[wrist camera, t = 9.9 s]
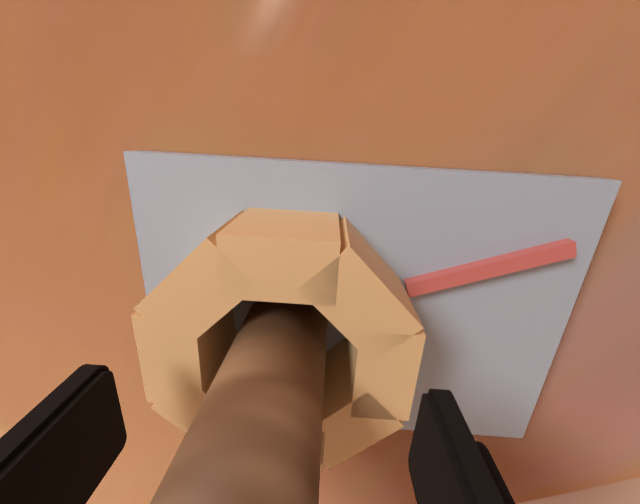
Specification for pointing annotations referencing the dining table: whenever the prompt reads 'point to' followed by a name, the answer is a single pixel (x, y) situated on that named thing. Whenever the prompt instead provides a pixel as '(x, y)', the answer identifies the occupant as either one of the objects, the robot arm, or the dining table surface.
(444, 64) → the dining table surface
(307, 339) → the brown banded cylinder
